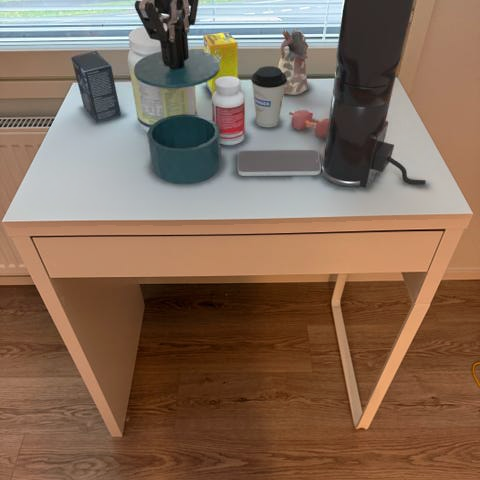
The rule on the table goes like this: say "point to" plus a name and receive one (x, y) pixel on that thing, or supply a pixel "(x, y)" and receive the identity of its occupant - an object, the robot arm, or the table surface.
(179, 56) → the lid
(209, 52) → the supplement box
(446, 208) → the table surface
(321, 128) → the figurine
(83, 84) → the box
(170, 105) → the supplement tub
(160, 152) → the tin
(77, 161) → the table surface
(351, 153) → the robot arm
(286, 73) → the figurine
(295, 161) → the smartphone
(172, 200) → the table surface
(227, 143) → the pill bottle
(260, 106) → the coffee cup
